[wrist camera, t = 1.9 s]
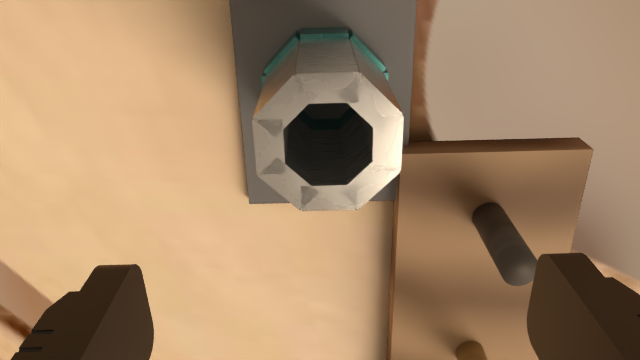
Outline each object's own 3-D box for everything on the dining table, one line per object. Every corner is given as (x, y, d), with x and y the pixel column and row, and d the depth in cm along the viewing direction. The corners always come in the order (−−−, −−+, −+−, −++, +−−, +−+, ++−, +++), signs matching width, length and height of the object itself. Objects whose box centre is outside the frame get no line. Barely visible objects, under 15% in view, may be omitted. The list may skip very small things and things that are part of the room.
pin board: (396, 142, 25) (418, 200, 20) (578, 137, 25) (649, 194, 20) (385, 376, 32) (400, 466, 27) (528, 373, 32) (570, 462, 27)
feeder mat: (219, -123, 20) (192, -137, 16) (421, -129, 20) (451, -145, 16) (250, 199, 27) (237, 254, 22) (403, 195, 27) (421, 249, 22)
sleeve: (261, 29, 22) (241, 68, 16) (385, 25, 22) (412, 64, 16) (270, 143, 25) (254, 217, 18) (381, 140, 25) (404, 213, 18)
